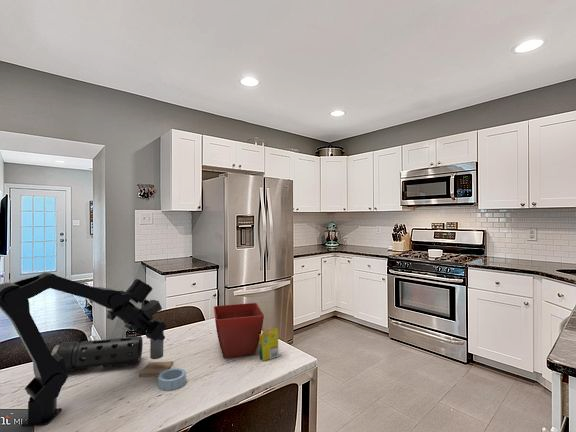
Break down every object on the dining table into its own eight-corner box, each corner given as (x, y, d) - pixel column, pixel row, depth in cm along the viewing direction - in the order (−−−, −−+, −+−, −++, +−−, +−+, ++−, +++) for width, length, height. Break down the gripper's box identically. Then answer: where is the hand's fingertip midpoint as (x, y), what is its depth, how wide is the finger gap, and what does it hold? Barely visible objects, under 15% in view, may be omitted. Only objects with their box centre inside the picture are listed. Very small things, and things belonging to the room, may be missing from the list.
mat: (165, 375, 107) (165, 373, 107) (139, 376, 106) (139, 374, 106) (173, 363, 116) (173, 361, 116) (148, 364, 115) (148, 362, 115)
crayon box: (275, 354, 124) (275, 325, 124) (278, 357, 122) (278, 327, 122) (258, 358, 120) (259, 329, 120) (262, 361, 118) (262, 331, 118)
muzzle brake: (137, 369, 112) (137, 340, 112) (48, 379, 104) (48, 349, 105) (142, 357, 121) (142, 331, 121) (61, 366, 114) (61, 338, 114)
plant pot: (215, 363, 116) (215, 319, 116) (213, 343, 134) (213, 305, 135) (264, 357, 121) (264, 315, 121) (256, 339, 140) (256, 302, 140)
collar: (181, 389, 98) (181, 380, 98) (154, 391, 97) (154, 381, 97) (188, 376, 106) (188, 367, 106) (163, 377, 106) (163, 368, 106)
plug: (163, 357, 110) (164, 327, 110) (150, 360, 108) (150, 329, 108) (162, 353, 114) (163, 323, 114) (149, 355, 112) (150, 325, 112)
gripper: (161, 298, 103) (189, 322, 111) (133, 290, 114) (160, 313, 122) (138, 328, 96) (169, 351, 105) (111, 317, 107) (141, 339, 116)
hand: (160, 337), depth 112 cm, fingers closed on plug, 4 cm apart
